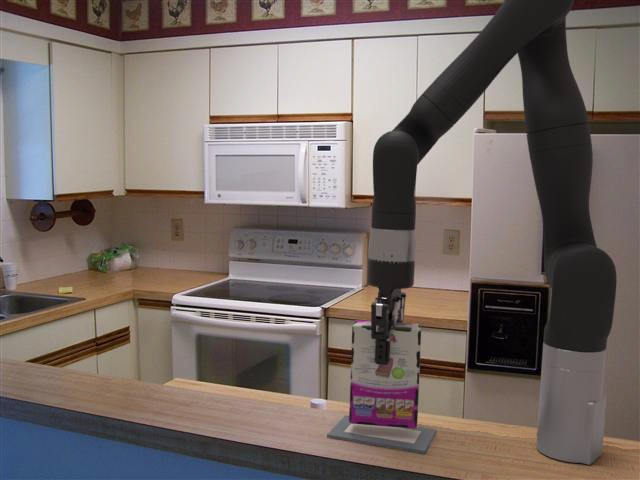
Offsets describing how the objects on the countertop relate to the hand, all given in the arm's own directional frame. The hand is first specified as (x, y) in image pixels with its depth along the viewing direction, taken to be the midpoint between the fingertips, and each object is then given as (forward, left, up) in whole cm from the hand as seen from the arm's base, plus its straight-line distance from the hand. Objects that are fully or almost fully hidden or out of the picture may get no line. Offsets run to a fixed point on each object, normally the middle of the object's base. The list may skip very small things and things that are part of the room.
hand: (386, 359), depth 111 cm
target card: (0, 0, -13) cm, 13 cm away
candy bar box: (0, 0, -11) cm, 11 cm away
